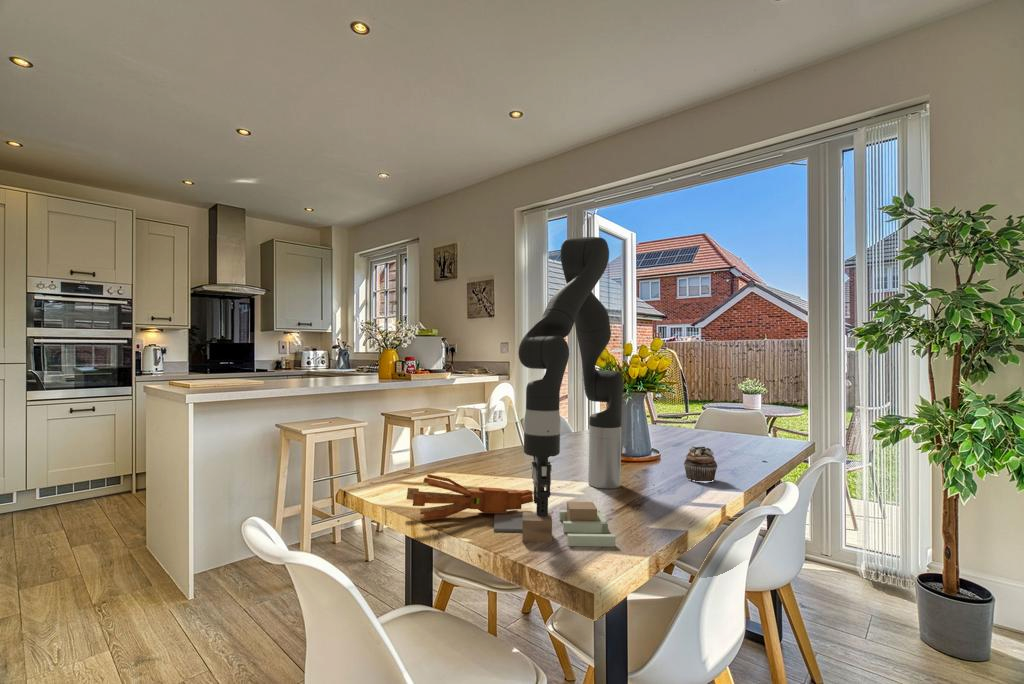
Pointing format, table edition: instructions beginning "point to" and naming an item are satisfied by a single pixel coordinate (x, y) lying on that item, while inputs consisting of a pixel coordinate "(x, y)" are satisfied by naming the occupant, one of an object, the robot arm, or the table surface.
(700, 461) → the cupcake
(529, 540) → the block
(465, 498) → the toy
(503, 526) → the pad
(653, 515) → the table surface
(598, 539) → the rack
